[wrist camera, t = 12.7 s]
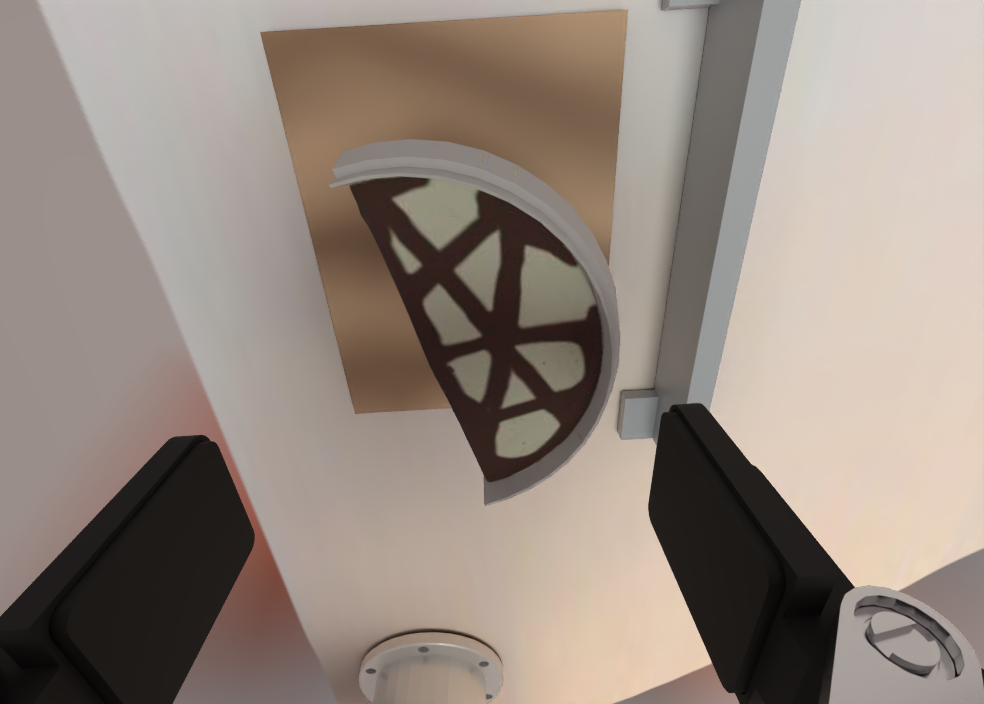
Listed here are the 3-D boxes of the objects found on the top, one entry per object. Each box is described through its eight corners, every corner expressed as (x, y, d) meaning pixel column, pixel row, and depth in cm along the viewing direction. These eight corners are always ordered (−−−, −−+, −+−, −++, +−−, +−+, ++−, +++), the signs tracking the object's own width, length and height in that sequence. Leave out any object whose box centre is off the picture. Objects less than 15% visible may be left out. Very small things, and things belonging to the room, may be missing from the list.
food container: (601, 336, 24) (664, 475, 15) (490, 368, 25) (490, 516, 16) (538, 76, 18) (582, 59, 9) (396, 130, 19) (317, 161, 10)
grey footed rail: (698, 426, 28) (729, 472, 24) (617, 431, 28) (637, 478, 24) (810, -102, 16) (902, -157, 13) (672, -93, 16) (725, -146, 13)
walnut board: (596, 392, 27) (598, 398, 26) (357, 407, 27) (354, 413, 26) (623, 12, 18) (627, 9, 17) (266, 34, 18) (260, 32, 17)
